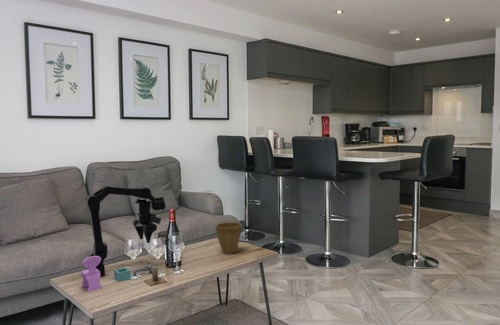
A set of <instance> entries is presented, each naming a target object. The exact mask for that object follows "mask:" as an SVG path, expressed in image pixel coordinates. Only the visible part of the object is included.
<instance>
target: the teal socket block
mask: <svg viewBox="0 0 500 325" xmlns="http://www.w3.org/2000/svg"><path fill="white" fill-rule="evenodd" d="M131 273H132V272H131V270H130V269H129V268H128V267H127V266H125V267H122V268H117V269H113V275H114V276H113V277H114V278H113V279H115V280H116V281H117V282H118V283H119V282H122V281H127V280H131V279H132V277H131Z"/></svg>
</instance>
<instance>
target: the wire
mask: <svg viewBox="0 0 500 325" xmlns="http://www.w3.org/2000/svg"><path fill="white" fill-rule="evenodd" d="M154 269H155V268H153V267H152V266H149V267H145V268H139V269H135V270H133V271H132V273H133V274H132V276H133V277H136V276H137V273H141V272H147V271H148V273H149V274H153V270H154Z"/></svg>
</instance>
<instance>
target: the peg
mask: <svg viewBox="0 0 500 325" xmlns="http://www.w3.org/2000/svg"><path fill="white" fill-rule="evenodd" d="M153 269H154V270H153V272H152V277H151V278H147V279H143V282H144V283H146V284H147V285H149V286H150V287H153V286H158V285H162V284H165V283H168V280H166V279H165V278H163V277H162V276H159V270H158V268H157V269H156V268H153Z"/></svg>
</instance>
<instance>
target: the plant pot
mask: <svg viewBox="0 0 500 325" xmlns="http://www.w3.org/2000/svg"><path fill="white" fill-rule="evenodd" d="M215 229H216V234H217V239H218V242H219V245H220V248H221V251H222V252H224V253H223V254H226V253H231V254H235V253H236V252H237V250H238V246H239V244H240V243H239V242H240V238H241V233H242V224H241V223H239V222H233V221H231V222H230V221H229V222H222V223H218V224H216V225H215Z"/></svg>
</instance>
